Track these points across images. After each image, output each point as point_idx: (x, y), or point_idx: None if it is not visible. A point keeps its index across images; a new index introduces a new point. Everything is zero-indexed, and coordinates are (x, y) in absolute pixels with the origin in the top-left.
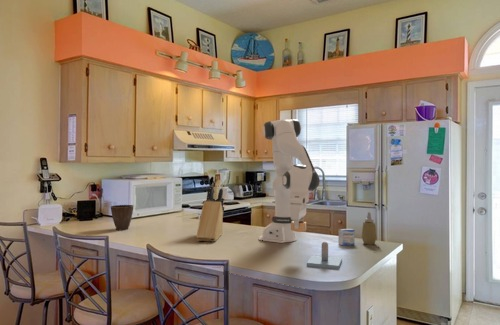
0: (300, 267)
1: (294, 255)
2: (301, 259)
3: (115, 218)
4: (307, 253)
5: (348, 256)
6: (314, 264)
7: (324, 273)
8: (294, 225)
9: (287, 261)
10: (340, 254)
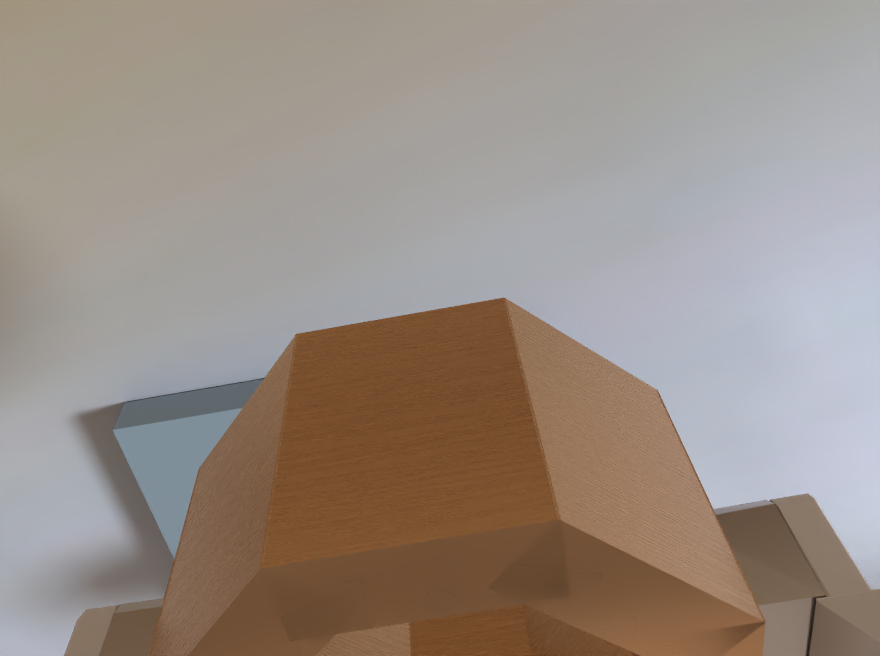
0: (15, 361)
1: (597, 30)
2: (404, 228)
3: None
4: (811, 173)
5: None
6: (152, 497)
7: (9, 612)
8: (157, 629)
9: (162, 85)
10: (874, 528)
